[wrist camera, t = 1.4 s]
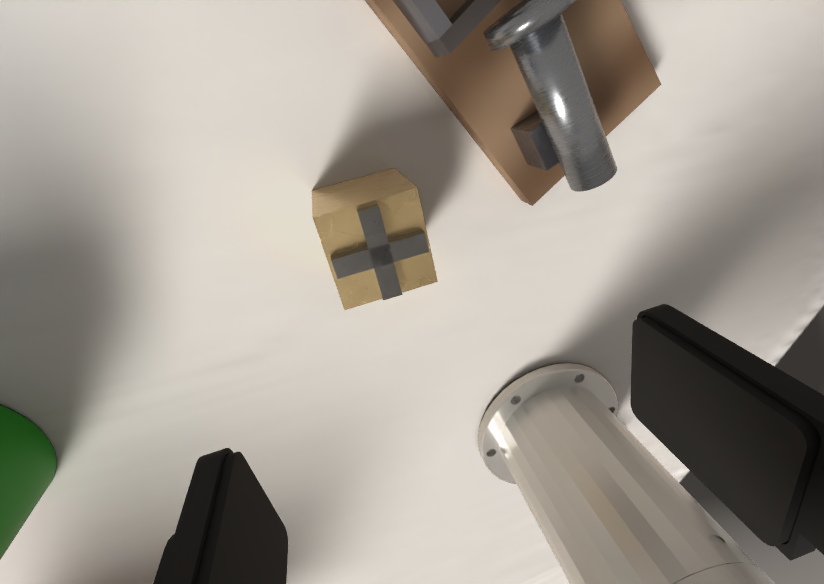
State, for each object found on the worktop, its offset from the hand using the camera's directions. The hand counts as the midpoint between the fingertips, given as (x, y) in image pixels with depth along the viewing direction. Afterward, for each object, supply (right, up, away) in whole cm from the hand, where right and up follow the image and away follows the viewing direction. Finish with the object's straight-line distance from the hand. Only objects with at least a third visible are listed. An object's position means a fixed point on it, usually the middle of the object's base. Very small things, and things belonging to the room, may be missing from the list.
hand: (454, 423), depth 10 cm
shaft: (+5, +14, +15) cm, 21 cm away
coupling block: (-4, +7, +16) cm, 18 cm away
